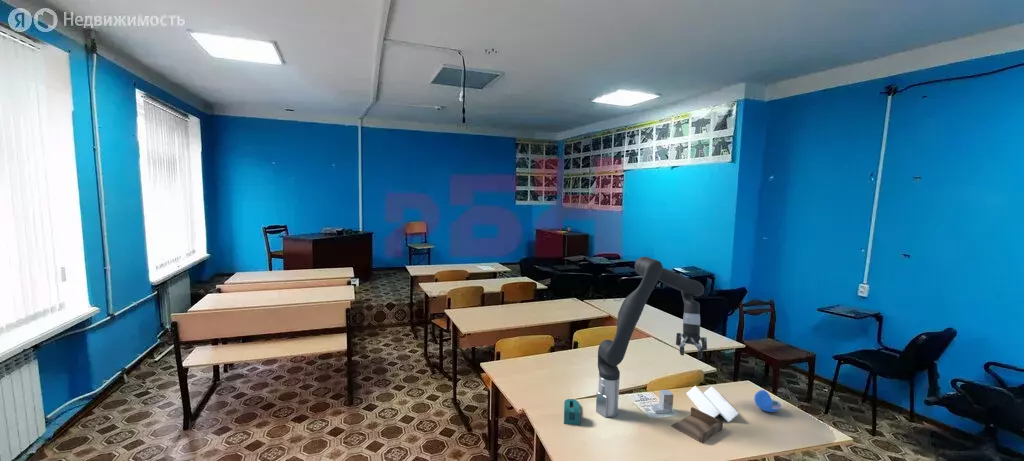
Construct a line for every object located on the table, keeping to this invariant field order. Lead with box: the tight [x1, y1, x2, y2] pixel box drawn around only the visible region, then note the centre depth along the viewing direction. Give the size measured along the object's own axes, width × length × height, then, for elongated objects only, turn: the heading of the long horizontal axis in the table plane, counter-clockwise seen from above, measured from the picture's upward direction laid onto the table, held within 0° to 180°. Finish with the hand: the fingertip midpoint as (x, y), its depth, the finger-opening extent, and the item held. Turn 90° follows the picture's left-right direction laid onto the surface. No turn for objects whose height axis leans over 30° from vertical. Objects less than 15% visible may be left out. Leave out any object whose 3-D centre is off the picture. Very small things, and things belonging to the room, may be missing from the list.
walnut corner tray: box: [670, 406, 724, 444], centre depth 174 cm, size 16×14×4 cm
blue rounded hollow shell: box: [753, 389, 783, 413], centre depth 190 cm, size 10×12×10 cm
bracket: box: [563, 398, 581, 426], centre depth 183 cm, size 18×7×8 cm, turn 172°
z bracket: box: [685, 385, 740, 423], centre depth 192 cm, size 12×25×6 cm
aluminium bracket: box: [651, 389, 674, 415], centre depth 187 cm, size 8×4×9 cm, turn 95°
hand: (690, 357), depth 192 cm, fingers open, 8 cm apart
